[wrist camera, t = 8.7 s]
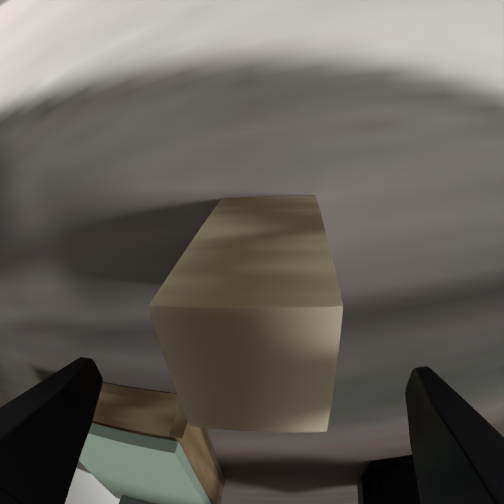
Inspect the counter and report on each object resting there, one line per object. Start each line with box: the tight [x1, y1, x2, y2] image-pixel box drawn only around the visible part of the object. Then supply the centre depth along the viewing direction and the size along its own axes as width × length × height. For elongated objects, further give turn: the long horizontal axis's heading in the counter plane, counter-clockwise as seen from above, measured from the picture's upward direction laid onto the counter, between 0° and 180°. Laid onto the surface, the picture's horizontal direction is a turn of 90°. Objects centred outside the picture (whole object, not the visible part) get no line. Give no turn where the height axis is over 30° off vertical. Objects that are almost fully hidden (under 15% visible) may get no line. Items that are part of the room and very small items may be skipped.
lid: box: [79, 423, 212, 504], centre depth 21 cm, size 12×16×3 cm
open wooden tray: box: [92, 383, 225, 504], centre depth 24 cm, size 12×16×4 cm
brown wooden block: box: [149, 195, 343, 432], centre depth 12 cm, size 4×5×9 cm
